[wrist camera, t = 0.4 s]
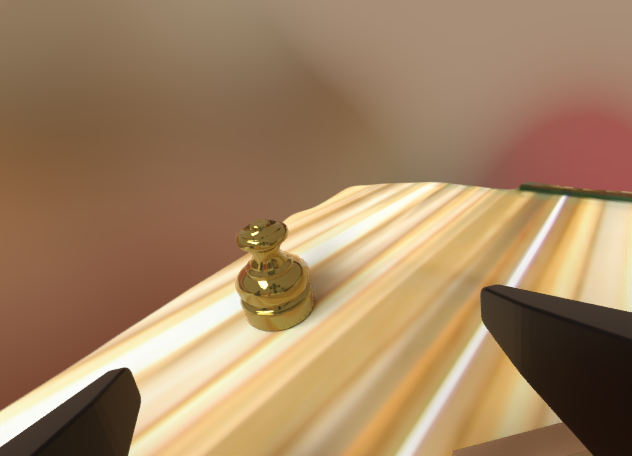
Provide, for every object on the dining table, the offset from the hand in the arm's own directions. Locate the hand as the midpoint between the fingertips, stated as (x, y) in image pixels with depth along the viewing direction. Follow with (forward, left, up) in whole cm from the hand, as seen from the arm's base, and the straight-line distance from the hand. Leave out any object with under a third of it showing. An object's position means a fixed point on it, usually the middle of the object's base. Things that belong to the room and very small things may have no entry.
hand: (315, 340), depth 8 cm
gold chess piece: (+22, +3, -16) cm, 27 cm away
